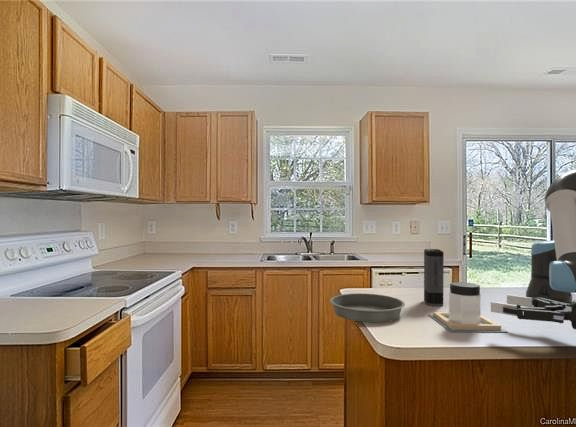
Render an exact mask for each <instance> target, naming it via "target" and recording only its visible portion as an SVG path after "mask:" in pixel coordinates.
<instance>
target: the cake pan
mask: <svg viewBox="0 0 576 427" xmlns="http://www.w3.org/2000/svg"><path fill="white" fill-rule="evenodd" d="M329 301H330V303H331V304H332V306H333V310H334V313H335V315H336V316H337V317H340V318H341V319H346V320H348V321H354V322H355V321H356V322H363V323H384V322H385V321H386V322H391V320H392V321H395V320H397V319H399V318H400V315H401V312H402V308H405V305H406V303H405V301H403V300H401V299H399V298H397V297H393V296H390V295H383V294H377V293H376V294H375V293H344V294H339V295H335V296H333V297H331V298H330V300H329Z"/></svg>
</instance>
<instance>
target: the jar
mask: <svg viewBox="0 0 576 427" xmlns="http://www.w3.org/2000/svg"><path fill="white" fill-rule="evenodd" d="M449 285H450V286H449V293H448V296H449V297H448V307H449V308H448V312H449V320H450V321H452V322H453V323H455V324H480V315H481V292H480V291H481V290H480V288H481V286H480V285H479V284H478V283H477V284H476V283H473V282H463V281H460V282H458V281H457V282H455V281H453V282H451V283H450V284H449Z"/></svg>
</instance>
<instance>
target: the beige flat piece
mask: <svg viewBox="0 0 576 427" xmlns="http://www.w3.org/2000/svg"><path fill="white" fill-rule="evenodd" d="M428 316H429V317H430V318H431V319H432V320H434V321H435V322H436V323H438V324H439V325H440V326H442V327H443V328H444V329H446V330H449V331H448V332H450V333H496V334H497V333H498V334H499V333H505V334H506V333H509V332H508V331H507V330H506V329H504V328H502V325H500V324H499V323H497V322H495V321H493V320H492V319H489V318H487V317H485V316H484V315H482V314H480V324H455V323H453V322H452V321H450V320H449V311H448V312H447V311H444V312H443V311H433V314H428Z"/></svg>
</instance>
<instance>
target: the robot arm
mask: <svg viewBox="0 0 576 427" xmlns="http://www.w3.org/2000/svg"><path fill="white" fill-rule="evenodd" d="M544 205H545V207H546V209H547V210H548V212H549V213H550V218H551V225H552V226H551V227H552V234H553V239H552V240H545V241H544V240H541V241H536V242H533V244H532V245H531V251H530V255H531V259H530V261H531V262H530V263H531V265H530V266H531V270H530V275H531V276H530V279H529V280H530V281H529V284H528V285H527V288H526V291H525V296H519V295H514V294H506V303H503V302H499V301H498V302H496V301H490V313H494V314H495V313H496V314H501V315H507V316H512V317H517V320H525V321H539V322H552V323H559V324H564V322H565V321H569V322H570V323H571V324H570V325H571V328H572V329H573V330H576V299H575V300H573V295H572V294H573V293H575V294H576V169H574V170H570V171H568V172H565V173H563V174H562V175H560V176H558V177H557V178H556V179H555V180H554V181H552V183H551V184H550V185H549V186H548V188H547V190H546V192H545V195H544Z"/></svg>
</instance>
